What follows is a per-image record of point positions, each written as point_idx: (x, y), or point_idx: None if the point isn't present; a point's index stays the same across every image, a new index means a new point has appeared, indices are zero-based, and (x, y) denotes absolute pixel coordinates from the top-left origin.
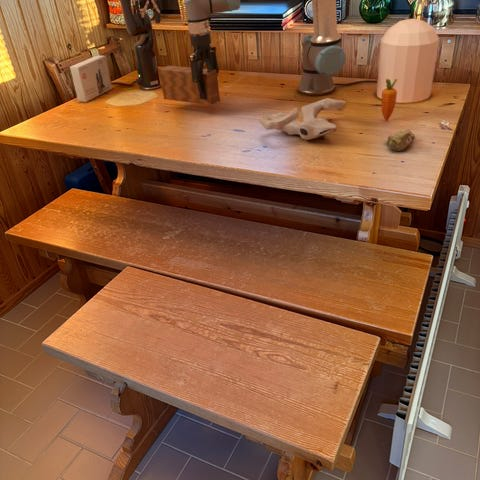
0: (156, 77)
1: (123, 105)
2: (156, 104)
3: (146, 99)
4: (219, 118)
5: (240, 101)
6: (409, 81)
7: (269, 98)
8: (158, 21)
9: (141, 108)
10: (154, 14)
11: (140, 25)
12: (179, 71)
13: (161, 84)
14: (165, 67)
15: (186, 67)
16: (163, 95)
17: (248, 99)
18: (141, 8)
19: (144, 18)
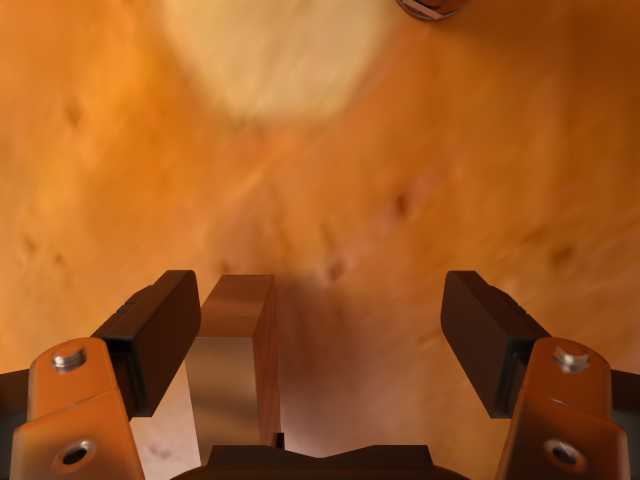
0: (448, 5)
1: (186, 48)
2: (260, 181)
3: (286, 92)
4: None
5: (388, 401)
6: None
7: (433, 447)
8: (447, 330)
9: (202, 158)
10: (500, 336)
11: (140, 293)
12: (198, 443)
13: (205, 302)
14: (219, 349)
15: (254, 436)
16: (219, 280)
17: (410, 410)
18: (129, 476)
19: (158, 404)
